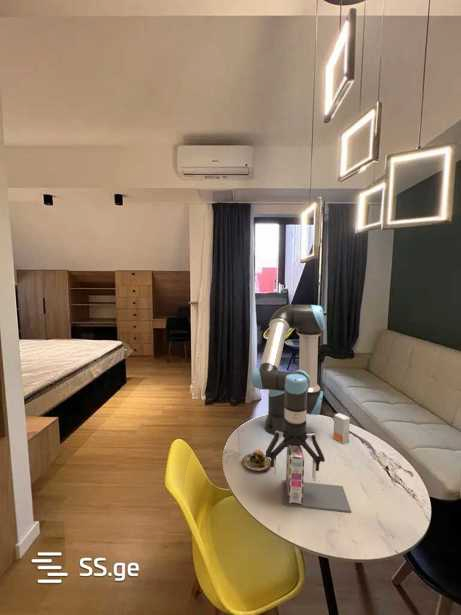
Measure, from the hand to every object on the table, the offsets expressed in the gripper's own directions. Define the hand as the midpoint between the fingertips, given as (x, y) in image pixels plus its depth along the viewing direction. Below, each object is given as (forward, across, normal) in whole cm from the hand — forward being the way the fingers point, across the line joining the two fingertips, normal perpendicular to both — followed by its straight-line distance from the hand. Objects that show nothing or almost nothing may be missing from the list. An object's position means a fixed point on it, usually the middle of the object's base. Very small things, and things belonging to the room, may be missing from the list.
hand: (294, 477), depth 104 cm
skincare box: (+7, +25, +40) cm, 47 cm away
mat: (+6, +7, 0) cm, 9 cm away
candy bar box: (+6, 0, 0) cm, 6 cm away
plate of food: (+7, -14, +15) cm, 21 cm away
